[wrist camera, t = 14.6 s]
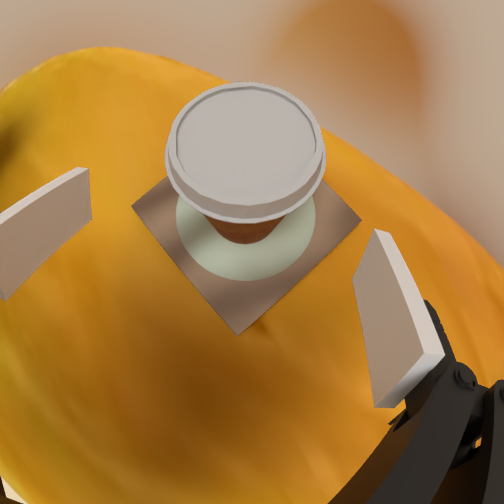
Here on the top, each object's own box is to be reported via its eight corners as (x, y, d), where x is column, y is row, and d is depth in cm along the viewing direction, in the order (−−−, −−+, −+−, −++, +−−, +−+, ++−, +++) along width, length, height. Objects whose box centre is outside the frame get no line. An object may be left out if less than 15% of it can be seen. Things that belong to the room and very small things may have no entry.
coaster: (135, 210, 28) (130, 205, 27) (252, 121, 31) (252, 114, 29) (237, 335, 26) (237, 336, 24) (357, 223, 28) (362, 219, 27)
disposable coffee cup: (222, 281, 25) (204, 249, 13) (176, 193, 27) (138, 114, 15) (315, 231, 26) (364, 168, 15) (263, 151, 28) (274, 62, 16)
